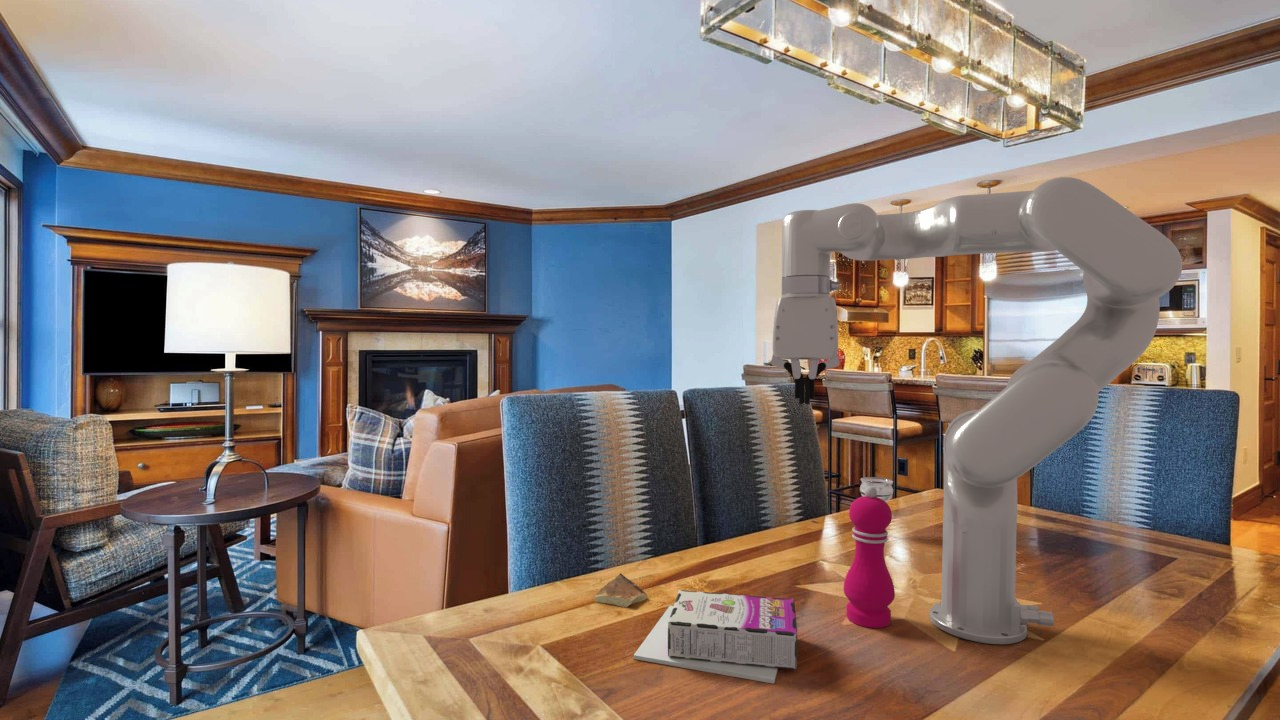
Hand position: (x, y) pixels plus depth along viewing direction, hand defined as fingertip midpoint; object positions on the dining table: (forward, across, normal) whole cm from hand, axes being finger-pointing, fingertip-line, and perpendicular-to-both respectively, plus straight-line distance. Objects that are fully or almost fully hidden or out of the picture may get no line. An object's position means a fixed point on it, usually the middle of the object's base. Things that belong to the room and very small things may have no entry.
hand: (804, 403), depth 104 cm
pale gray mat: (+32, +11, +20) cm, 39 cm away
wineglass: (+32, -14, -40) cm, 53 cm away
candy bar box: (+29, 0, +21) cm, 35 cm away
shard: (+32, +30, +8) cm, 44 cm away
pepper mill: (+32, -10, +6) cm, 34 cm away
